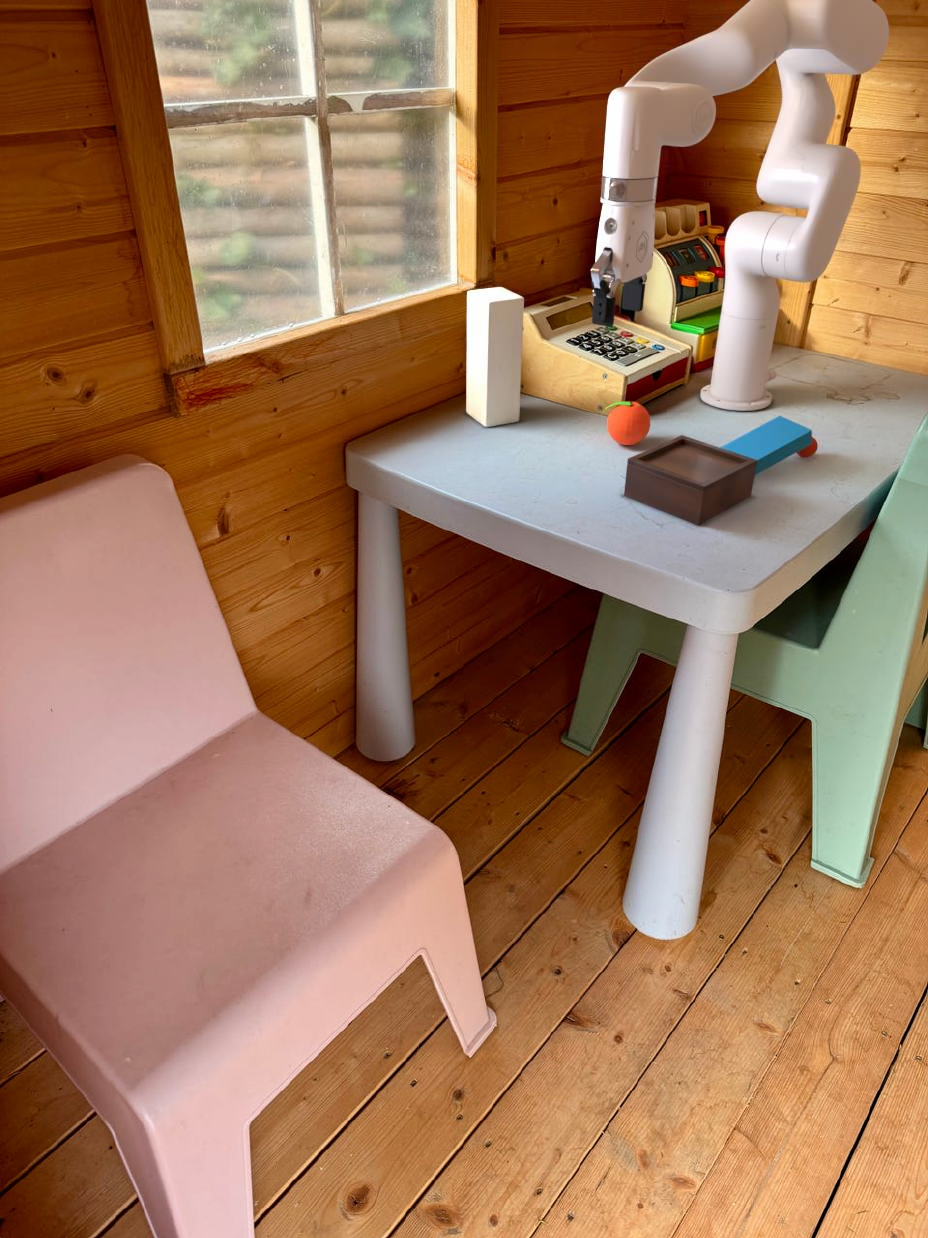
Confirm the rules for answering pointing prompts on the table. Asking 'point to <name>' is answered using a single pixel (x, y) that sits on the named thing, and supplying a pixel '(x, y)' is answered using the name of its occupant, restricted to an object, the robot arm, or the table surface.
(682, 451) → the tray
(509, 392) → the tall white pillar block
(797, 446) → the lever
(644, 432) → the clementine
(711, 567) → the table surface
